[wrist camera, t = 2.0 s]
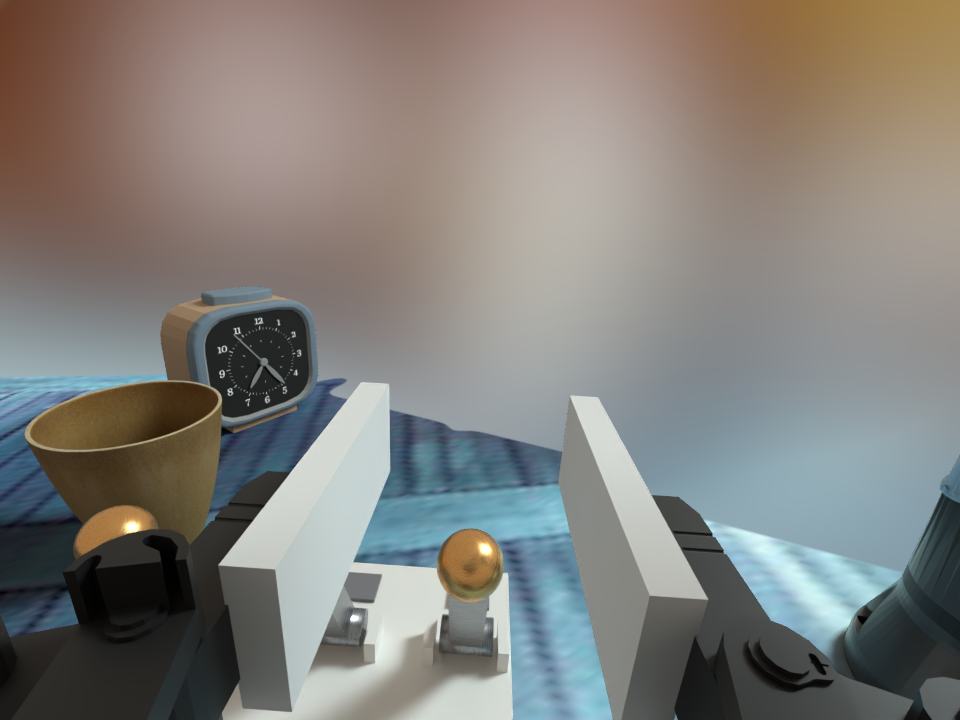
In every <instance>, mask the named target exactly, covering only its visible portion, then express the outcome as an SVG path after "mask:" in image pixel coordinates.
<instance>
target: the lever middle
mask: <svg viewBox="0 0 960 720" xmlns="http://www.w3.org/2000/svg"><path fill="white" fill-rule="evenodd" d="M367 624H368V609H367V608H354V605H353V603H352V601H351V599H350V597H349V595H348V593H347V591H346V589H345V587H344V586H343V588H342V591H341V593H340V595H339V598H338V600H337V603H336V605H335V608H334V610H333V613H332V615H331V618H330V620H329V623H328V625H327V628H326V630H325V632H324V635H323V637H322V640H321V642H320V645H334V646H348V647H361V646H362V644H363V642H364V639H365V635H366V630H367Z"/></svg>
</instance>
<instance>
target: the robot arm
mask: <svg viewBox="0 0 960 720" xmlns="http://www.w3.org/2000/svg"><path fill="white" fill-rule="evenodd" d="M389 472H390V420H389V384H381V383H366V382H361V383H360V385H359V386H358V387H357V389H356V390H355V391H354V392H353V394H352V395H351V396H350V398H349V399H348V400H347V401H346V403H345V404H344V405H343V406H342V408H341V409H340V410H339V411H338V413H337V414H336V415H335V417H334V418H333V419H332V420H331V422H330V423H329V424H328V426H327V427H326V428H325V429H324V431H323V432H322V433H321V435H320V436H319V437H318V438H317V440H316V441H315V442H314V443H313V445H312V446H311V447H310V449H309V450H308V451H307V452H306V454H305V455H304V456H303V458H302V459H301V460H300V461H299V463H298V464H297V465H296V467H295V468H294V469H293V470H292V472H291V473H287V472H272V471H267V472H265V473H264V474H262V475H260V476H259V477H257V478H255V479H254V480H252V481H250V482H249V483H247V484H245V485H244V486H243V487H242V488H241V489H240V491H239V492H238V493H237V494H236V495H235V496H234V497H233V498H232V499H231V500H230V502H229V504H228V506H225V507H224V508H223V509H222V510H221V511H220V512H219V514H218V515H217V516H216V517H215V520H214V521H211V522H210V523H209V524H208V526H207V527H206V528H205V529H204V530H203V531H202V532H201V533H200V534H199V535H198V537H197V538H196V539H195V540H194V541H193V542H192V543H191V544H190V545H189V543H188V542H187V540H186V538H185V536H184V535H182V534H180V533H177V532H175V531H173V530H166V529H149V530H144V531H138V532H133V533H128V534H125V535H123V536H120V537H118V538H115V539H112V540H110V541H107V542H104V543H102V544H101V545H99V546H97V547H95V548H94V549H92V550H90V551H88V552H87V553H85V554H83V555H82V556H80V557H79V558H78V559H77V560H76V561H75V562H73V563H72V564H71V565H70V566H69V567H68V568H67V569H66V570H64V571H63V574H64V578H65V581H66V584H67V587H68V590H69V593H70V597H71V600H72V603H73V606H74V609H75V613H76V616H77V619H78V622H79V624H75V625H71V626H65V627H60V628H55V629H50V630H45V631H39V632H34V633H29V634H24V635H18V636H13V637H9V635H8V633H7V630H6V628H5V625H4V623H3V621H2V618H1V616H0V720H223V716H222V712H223V710H224V708H225V706H226V704H227V703H228V701H229V699H230V697H231V695H232V693H233V692H234V690H235V688H236V686H237V684H239V690H240V696H241V702H242V708H243V709H256V710H269V711H282V712H292V711H293V709H294V706H295V704H296V702H297V699H298V697H299V694H300V692H301V689H302V687H303V684H304V682H305V679H306V677H307V674H308V672H309V669H310V667H311V665H312V662H313V660H314V657H315V655H316V652H317V650H318V647H319V645H320V642H321V640H322V637H323V635H324V632H325V630H326V628H327V625H328V623H329V620H330V618H331V615H332V613H333V610H334V608H335V605H336V603H337V600H338V598H339V595H340V593H341V591H342V588H343V586H344V583H345V581H346V578H347V576H348V573H349V571H350V568H351V566H352V563H353V561H354V558H355V556H356V554H357V551H358V549H359V546H360V544H361V541H362V539H363V536H364V534H365V531H366V529H367V526H368V524H369V521H370V519H371V517H372V514H373V512H374V509H375V507H376V504H377V502H378V499H379V497H380V494H381V492H382V489H383V487H384V485H385V482H386V480H387V477H388V475H389ZM559 486H560V491H561V495H562V499H563V504H564V508H565V512H566V517H567V521H568V525H569V530H570V534H571V538H572V543H573V547H574V551H575V556H576V560H577V564H578V569H579V573H580V577H581V581H582V586H583V590H584V594H585V599H586V603H587V607H588V612H589V616H590V620H591V625H592V629H593V633H594V638H595V642H596V646H597V651H598V655H599V659H600V664H601V668H602V672H603V677H604V681H605V685H606V690H607V694H608V698H609V703H610V707H611V711H612V716H613V720H674V718H675V714H676V716H677V718H678V720H960V456H959V457H958V459H957V461H956V463H955V464H954V466H953V468H952V470H951V472H950V473H949V474H948V475H947V476H946V477H944V478H943V479H942V481H941V484H940V489H941V490H942V493H941V495H940V497H939V499H938V501H937V504H936V506H935V508H934V510H933V512H932V514H931V516H930V518H929V520H928V522H927V524H926V527H925V529H924V531H923V533H922V535H921V537H920V539H919V541H918V543H917V545H916V547H915V550H914V551H913V554H912V556H911V558H910V560H909V563H908V565H907V567H906V569H905V571H904V573H903V575H902V577H901V578H900V579H899V580H898V581H897V582H895V583H894V584H893V585H891V586H890V587H889V588H887V589H886V590H885V591H883V592H882V593H881V594H879V595H878V596H877V597H875V598H874V599H873V600H871V601H870V602H868V603H867V604H866V605H865V606H863V607H862V608H860V609H859V610H858V611H857V612H856V614H855V615H854V616H853V618H852V620H851V622H850V625H849V627H848V629H847V632H846V634H845V637H844V651H845V655H846V658H847V661H848V663H849V666H850V668H851V670H852V672H853V674H854V675H855V677H856V679H857V680H858V681H855V680H852V679H850V678H847V677H845V676H843V675H840V674H838V672H837V671H836V670H835V668H834V667H833V665H832V664H831V662H830V661H829V659H828V658H827V657H826V656H825V655H824V654H823V653H821V652H820V651H819V650H818V649H817V648H816V647H815V646H814V645H813V644H812V643H811V642H810V641H808V640H807V639H805V638H804V637H802V636H800V635H799V634H797V633H796V632H794V631H792V630H791V629H789V628H788V627H786V626H783V625H781V624H778V623H775V622H773V621H771V620H770V619H769V617H768V616H767V614H766V613H765V611H764V610H763V608H762V607H761V605H760V604H759V602H758V601H757V599H756V598H755V596H754V595H753V593H752V592H751V590H750V589H749V587H748V586H747V584H746V583H745V581H744V580H743V578H742V577H741V575H740V574H739V572H738V571H737V569H736V568H735V566H734V565H733V563H732V562H731V560H730V559H729V557H728V556H727V554H724V552H723V551H724V550H723V549H722V547H721V546H720V544H719V543H718V541H717V540H716V538H715V537H713V536H712V532H711V531H710V529H709V528H708V526H707V525H706V523H705V522H704V520H703V519H702V517H701V516H700V514H699V513H697V512H696V511H695V510H694V509H692V508H691V507H690V506H689V505H688V504H686V503H685V502H684V501H683V500H681V499H680V498H679V497H671V496H655V495H651V494H650V492H649V490H648V488H647V487H646V485H645V483H644V481H643V479H642V477H641V476H640V474H639V472H638V470H637V469H636V466H635V465H634V463H633V461H632V459H631V457H630V455H629V453H628V452H627V450H626V448H625V446H624V444H623V443H622V441H621V439H620V437H619V435H618V433H617V431H616V430H615V428H614V426H613V424H612V422H611V421H610V419H609V417H608V415H607V413H606V411H605V410H604V408H603V406H602V404H601V402H600V401H599V399H598V397H585V396H570V398H569V405H568V413H567V421H566V428H565V436H564V445H563V451H562V459H561V467H560V474H559Z"/></svg>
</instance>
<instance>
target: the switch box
mask: <svg viewBox="0 0 960 720" xmlns="http://www.w3.org/2000/svg"><path fill="white" fill-rule="evenodd" d="M344 587H345V589H346V591H347V593H348V595H349V597H350V599H351V601H352V603H353V605H354V608H367V609H368V624H367V630H366V635H365V639H364V642H363V644H362V646H361V647H348V646H334V645H319V647H318V650H317V652H316V655H315V657H314V660H313V662H312V665H311V667H310V669H309V672H308V674H307V677H306V679H305V682H304V684H303V687H302V689H301V692H300V694H299V697H298V699H297V702H296V704H295V706H294V709H293V711H292V712H282V711H269V710H256V709H243V708H242V702H241V696H240V690H239V684H237V686H236V688H235V690H234V692H233V693H232V695H231V697H230V699H229V701H228V703H227V704H226V706H225V708H224V710H223V712H222V716H223V720H513V709H512V680H511V650H510V620H509V591H508V573H503V576H502V579H501V582H500V584H499V586H498V587H497V589H496V590H495V591H494V592H493V593H492V594H491V595H490V596H489V601H488V608H487V615H486V617H493V618H494V634H493V653H492V657H486V656H472V655H458V654H444V653H439V638H440V628H441V619H442V614H449V610H448V593H447V592H446V591H445V590H444V588H443V587H442V585H441V583H440V581H439V578H438V574H437V568H425V567H410V566H396V565H382V564H367V563H352V566H351V568H350V571H349V573H348V576H347V578H346V581H345V583H344Z"/></svg>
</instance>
